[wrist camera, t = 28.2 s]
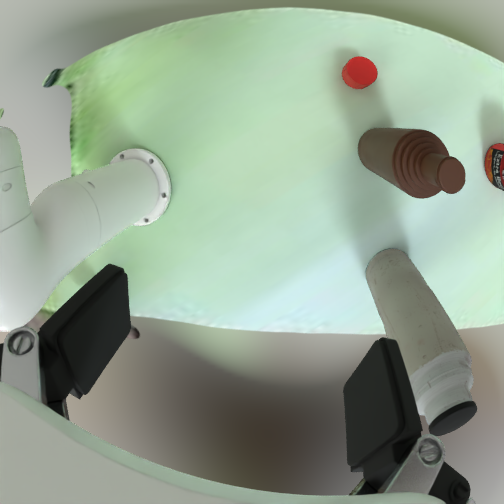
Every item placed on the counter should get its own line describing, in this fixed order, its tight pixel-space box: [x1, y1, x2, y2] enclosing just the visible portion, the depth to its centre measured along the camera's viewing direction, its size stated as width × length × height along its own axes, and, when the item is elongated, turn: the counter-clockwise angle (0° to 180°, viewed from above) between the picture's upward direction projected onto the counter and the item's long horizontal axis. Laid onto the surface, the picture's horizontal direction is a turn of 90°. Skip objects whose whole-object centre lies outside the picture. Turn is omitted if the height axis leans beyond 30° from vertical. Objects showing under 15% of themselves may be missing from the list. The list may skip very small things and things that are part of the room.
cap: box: [342, 56, 377, 89], centre depth 27 cm, size 4×4×4 cm
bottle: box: [358, 128, 465, 198], centre depth 24 cm, size 6×6×20 cm
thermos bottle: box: [366, 249, 477, 436], centre depth 27 cm, size 8×8×28 cm
